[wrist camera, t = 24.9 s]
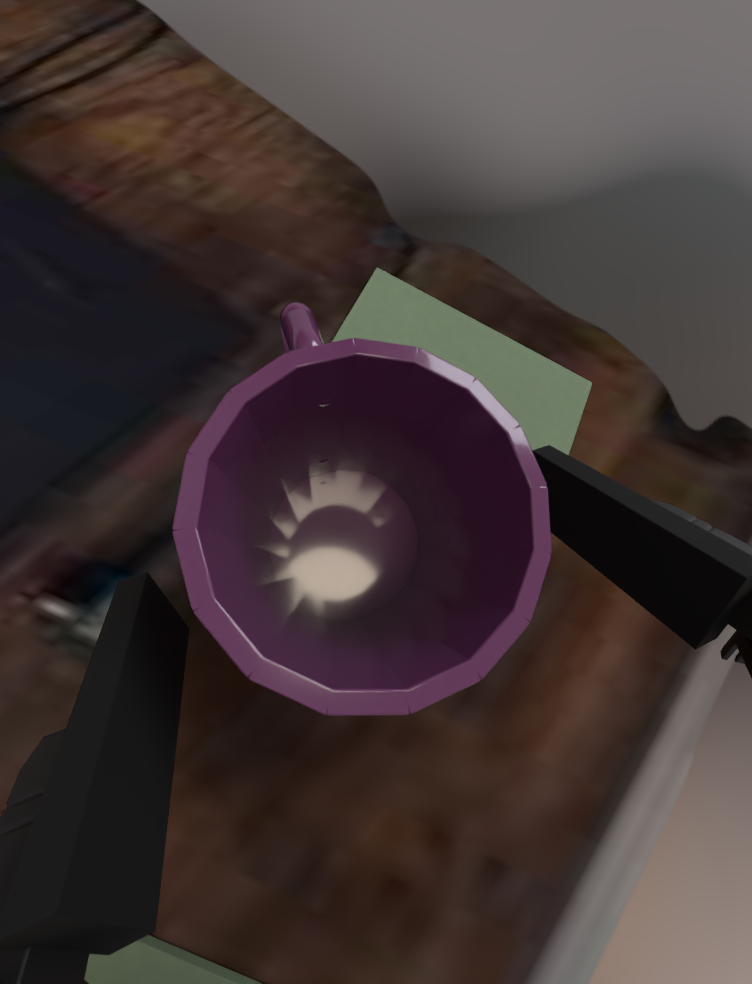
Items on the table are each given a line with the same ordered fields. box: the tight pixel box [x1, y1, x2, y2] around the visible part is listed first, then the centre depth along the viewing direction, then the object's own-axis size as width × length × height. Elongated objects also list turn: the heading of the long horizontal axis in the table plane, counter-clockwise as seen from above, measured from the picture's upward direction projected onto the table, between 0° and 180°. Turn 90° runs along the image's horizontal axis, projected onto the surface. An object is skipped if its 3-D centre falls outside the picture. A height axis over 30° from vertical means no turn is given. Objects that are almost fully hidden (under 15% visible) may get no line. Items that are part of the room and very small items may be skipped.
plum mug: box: [172, 302, 552, 716], centre depth 13 cm, size 12×9×11 cm
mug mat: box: [332, 268, 592, 455], centre depth 21 cm, size 16×11×1 cm
